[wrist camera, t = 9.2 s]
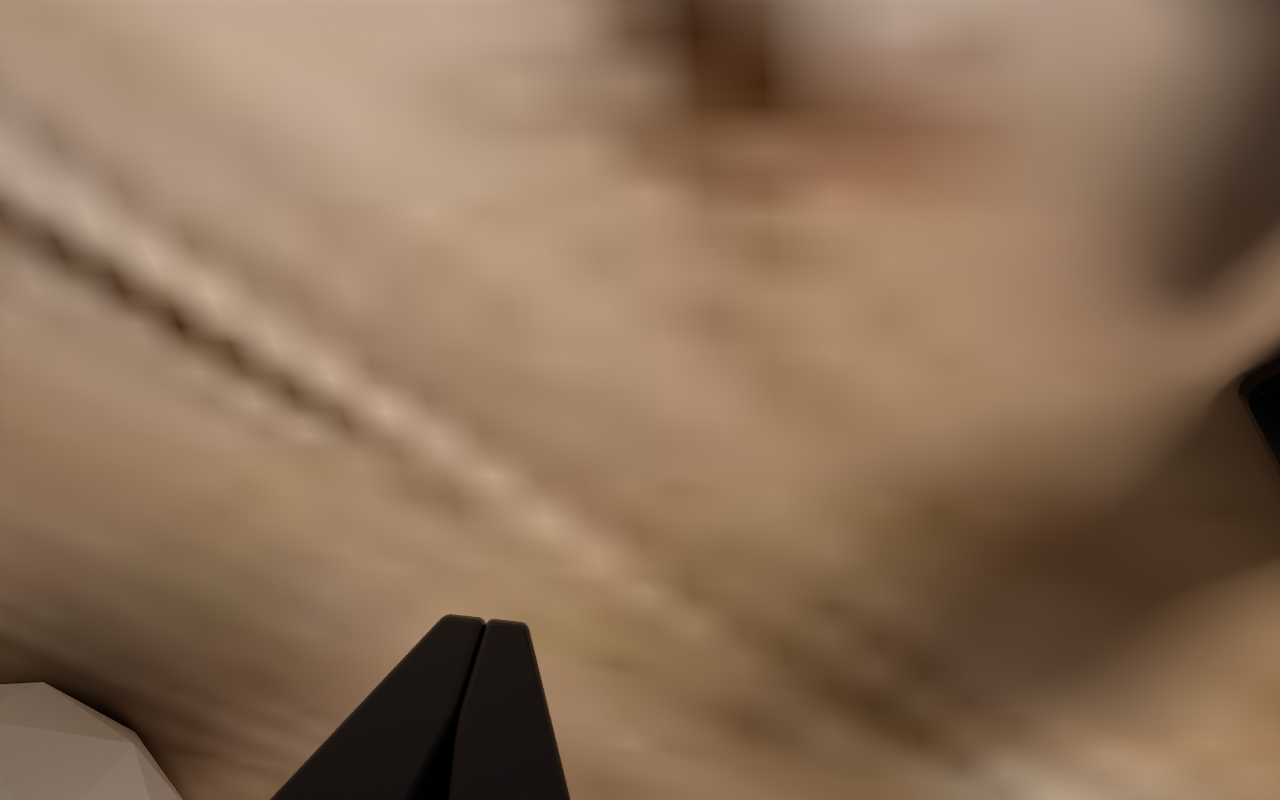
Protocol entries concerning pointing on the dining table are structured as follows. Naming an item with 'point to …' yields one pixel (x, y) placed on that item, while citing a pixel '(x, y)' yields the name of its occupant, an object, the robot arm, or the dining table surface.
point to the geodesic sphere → (71, 751)
